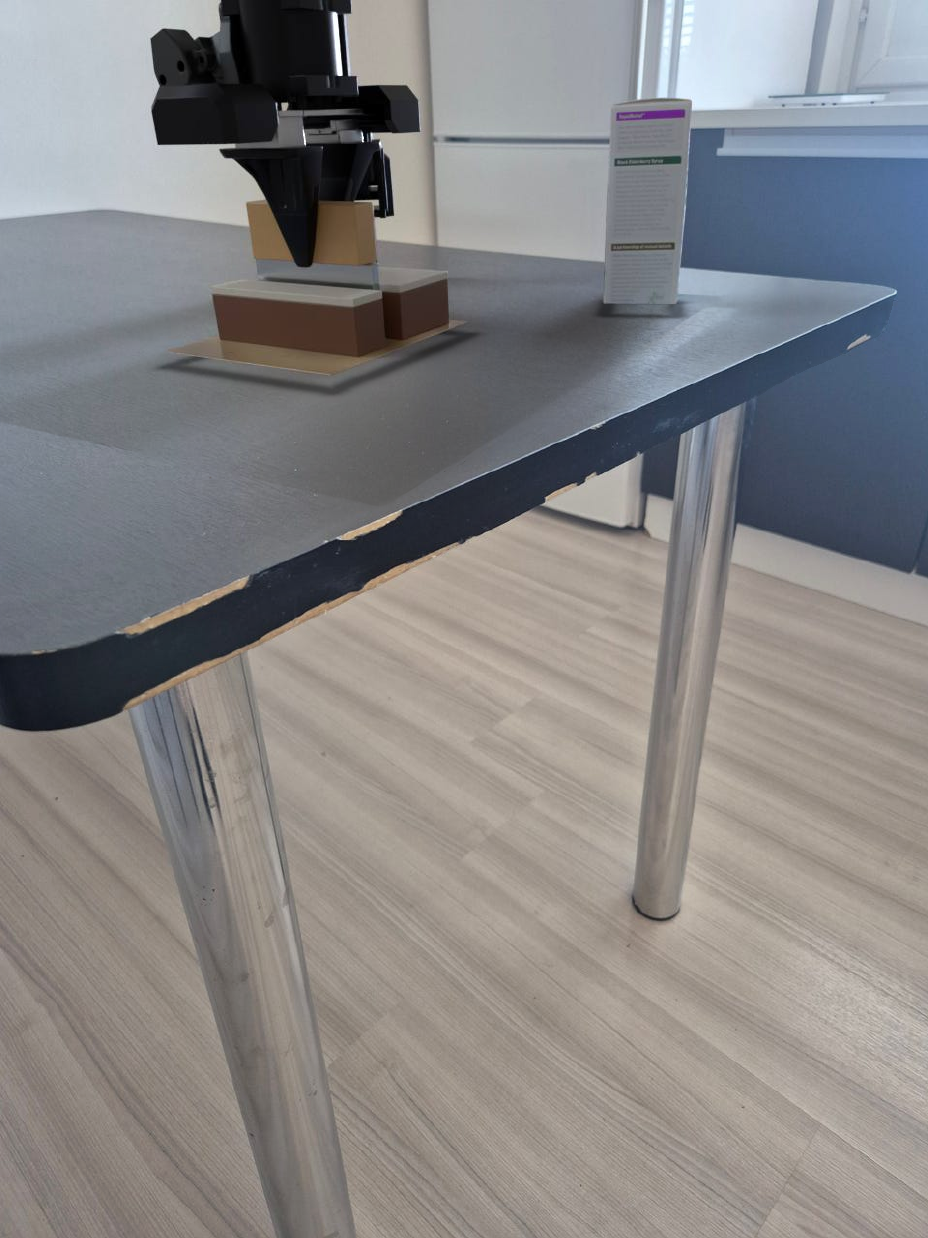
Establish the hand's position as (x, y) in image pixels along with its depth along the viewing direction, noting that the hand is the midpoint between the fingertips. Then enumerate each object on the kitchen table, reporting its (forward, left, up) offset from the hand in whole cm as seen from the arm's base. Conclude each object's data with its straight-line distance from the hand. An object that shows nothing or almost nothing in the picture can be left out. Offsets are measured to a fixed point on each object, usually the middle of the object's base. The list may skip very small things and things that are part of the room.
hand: (315, 264), depth 56 cm
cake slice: (+3, 0, -5) cm, 5 cm away
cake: (-4, 0, -5) cm, 6 cm away
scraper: (0, 0, -4) cm, 4 cm away
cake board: (0, 0, -6) cm, 6 cm away
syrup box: (-21, +15, -6) cm, 27 cm away
